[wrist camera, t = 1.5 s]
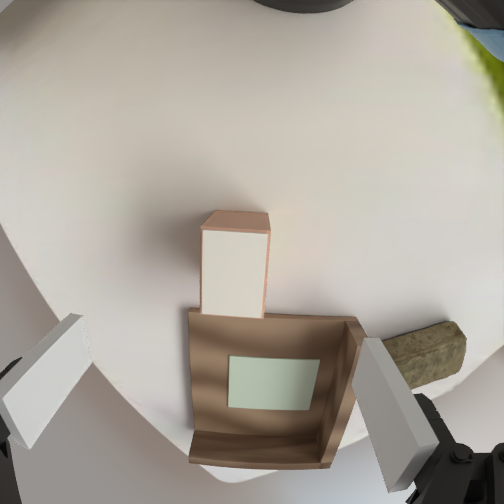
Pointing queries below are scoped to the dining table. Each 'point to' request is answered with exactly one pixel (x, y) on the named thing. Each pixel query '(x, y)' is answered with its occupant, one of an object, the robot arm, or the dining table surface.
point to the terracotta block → (234, 264)
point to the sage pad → (271, 382)
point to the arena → (263, 420)
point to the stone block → (428, 353)
